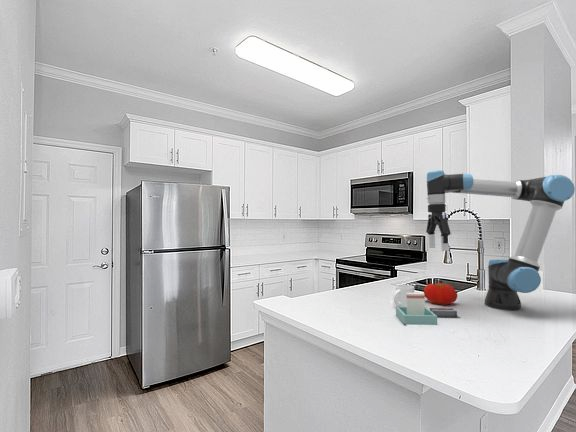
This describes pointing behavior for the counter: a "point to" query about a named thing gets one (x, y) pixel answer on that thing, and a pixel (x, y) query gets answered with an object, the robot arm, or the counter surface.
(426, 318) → the tray
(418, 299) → the cream red-striped panel
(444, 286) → the tomato
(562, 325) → the counter surface
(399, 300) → the mug
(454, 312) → the metal rectangular holder
